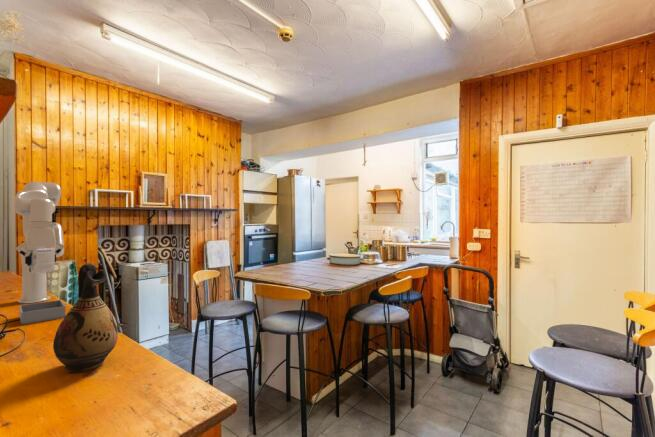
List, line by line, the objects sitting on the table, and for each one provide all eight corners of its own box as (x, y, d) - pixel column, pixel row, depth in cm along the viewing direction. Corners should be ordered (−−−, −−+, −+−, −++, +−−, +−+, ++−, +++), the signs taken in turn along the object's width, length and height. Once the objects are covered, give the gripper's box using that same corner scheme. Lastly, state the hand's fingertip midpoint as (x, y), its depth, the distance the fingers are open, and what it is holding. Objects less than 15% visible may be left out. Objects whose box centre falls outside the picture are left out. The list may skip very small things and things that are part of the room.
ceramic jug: (127, 362, 97) (127, 263, 97) (64, 383, 84) (64, 270, 84) (103, 349, 107) (103, 259, 107) (43, 366, 94) (44, 265, 94)
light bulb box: (26, 272, 144) (26, 248, 144) (45, 270, 150) (45, 247, 150) (36, 273, 139) (36, 249, 139) (55, 271, 144) (55, 247, 145)
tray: (19, 316, 140) (19, 305, 140) (60, 310, 150) (60, 299, 150) (21, 325, 130) (21, 312, 130) (65, 317, 140) (65, 306, 140)
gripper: (64, 225, 154) (64, 262, 153) (13, 226, 141) (13, 265, 141) (66, 225, 148) (66, 263, 148) (14, 226, 136) (14, 267, 135)
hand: (41, 264), depth 144 cm, fingers closed on light bulb box, 7 cm apart
